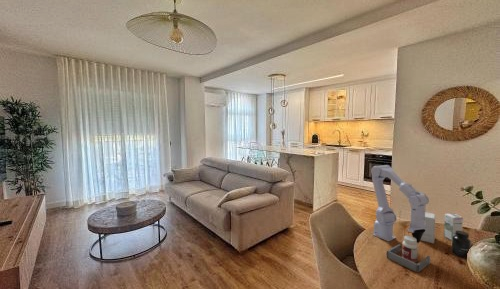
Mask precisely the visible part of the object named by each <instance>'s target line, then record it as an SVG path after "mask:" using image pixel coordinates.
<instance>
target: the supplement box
mask: <svg viewBox="0 0 500 289" xmlns="http://www.w3.org/2000/svg"><path fill="white" fill-rule="evenodd" d="M425 222H426V226H425V227H427V229H426V230H425V232H424V233H423V235H422V237H421V240H420V241H422V242H425V243H430V244H435V238H436V214H435V213H432V212H431V213H430V212H426V211H425Z"/></svg>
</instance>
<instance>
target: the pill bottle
mask: <svg viewBox="0 0 500 289" xmlns="http://www.w3.org/2000/svg"><path fill="white" fill-rule="evenodd" d="M418 248H419V247H418V243H417V239H416V238H414V237H413V236H412V235H405V236H403V241H402V244H401V257H403V258H405V259H407V260H409V261H411V262H414V263H416V264H417V262H418Z"/></svg>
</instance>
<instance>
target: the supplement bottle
mask: <svg viewBox="0 0 500 289" xmlns="http://www.w3.org/2000/svg"><path fill="white" fill-rule="evenodd" d="M471 246H472V241H471V239H470V238H469V233H468V232H466V231H463V230H462V231H456V233H455V235H454V236H453V238H452V242H451V253H452V254H453V255H455V256H457V257H460V258H463V259H468V258H467V253H468V251H469V249H470V248H472V247H471ZM470 250H471V249H470Z"/></svg>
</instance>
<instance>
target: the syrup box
mask: <svg viewBox="0 0 500 289" xmlns="http://www.w3.org/2000/svg"><path fill="white" fill-rule="evenodd" d="M463 222H464V218H463V216H460V215H458V214H455V213H452V212H451V213H444V227H443V228H444V230H443V231H444V233H443V237H445V238H447V239H448V240H450V241H452V238H453V236H454V235H455V233H456V231H463Z"/></svg>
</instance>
